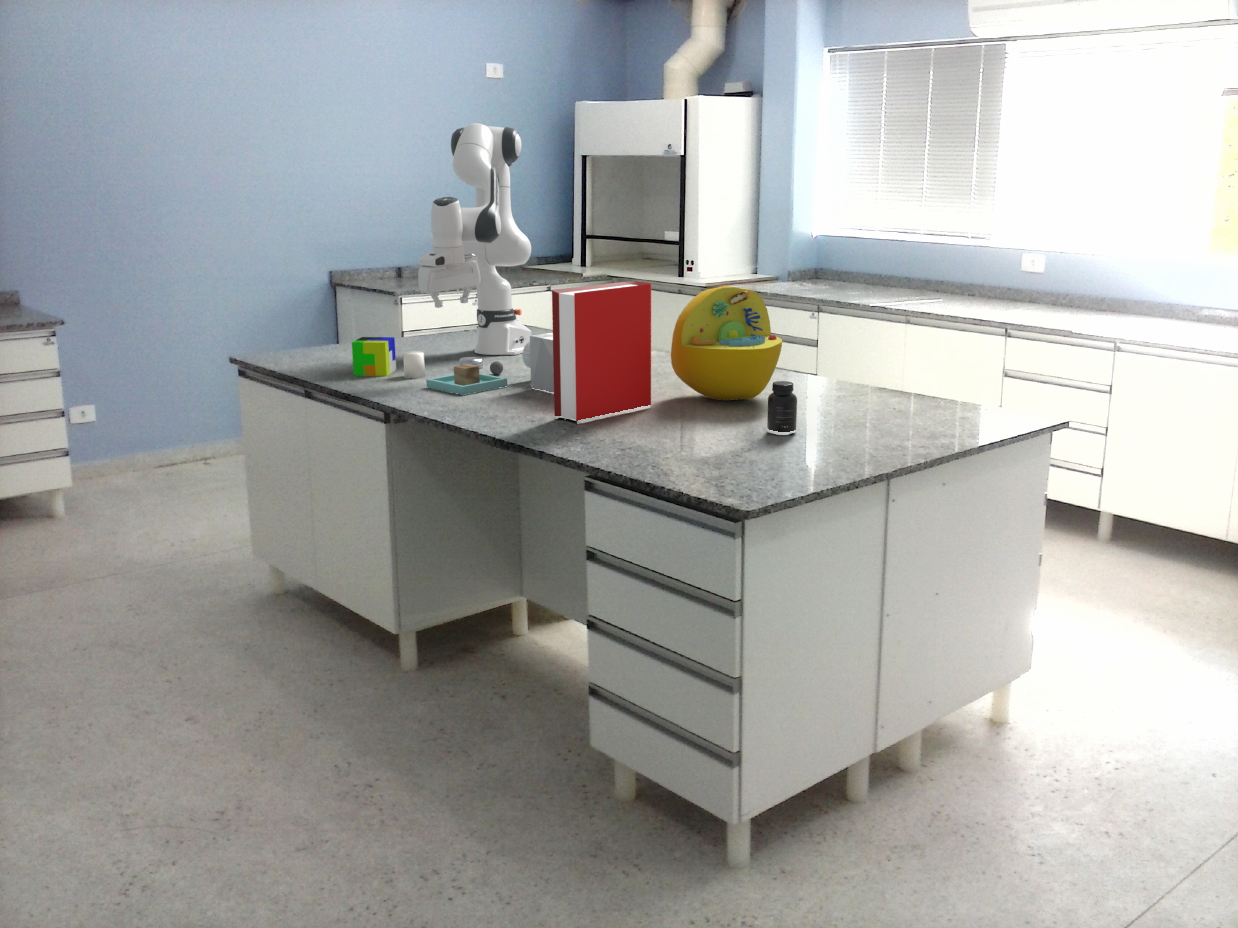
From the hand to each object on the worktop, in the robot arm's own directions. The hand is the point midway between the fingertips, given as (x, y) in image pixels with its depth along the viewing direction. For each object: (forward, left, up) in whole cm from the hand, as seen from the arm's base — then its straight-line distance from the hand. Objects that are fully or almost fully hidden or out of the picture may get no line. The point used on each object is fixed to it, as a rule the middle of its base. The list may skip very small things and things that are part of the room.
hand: (451, 305), depth 336 cm
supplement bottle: (-9, +109, -22) cm, 112 cm away
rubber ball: (-12, +4, -20) cm, 24 cm away
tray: (+6, +12, -22) cm, 25 cm away
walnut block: (+5, +12, -21) cm, 24 cm away
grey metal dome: (-14, -10, -22) cm, 28 cm away
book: (+4, +64, -22) cm, 68 cm away
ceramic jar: (+6, -12, -22) cm, 25 cm away
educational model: (-29, +77, -22) cm, 85 cm away
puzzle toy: (+10, -26, -22) cm, 35 cm away
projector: (-14, +35, -22) cm, 44 cm away
